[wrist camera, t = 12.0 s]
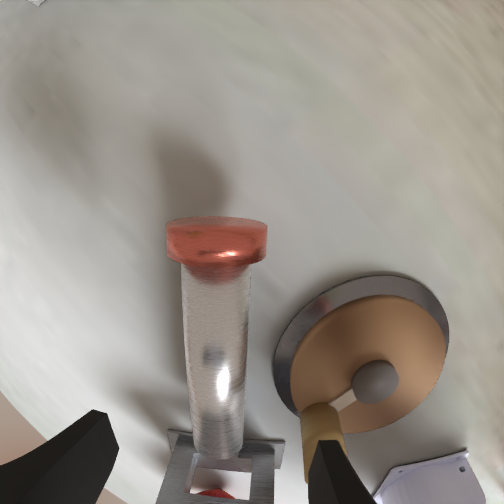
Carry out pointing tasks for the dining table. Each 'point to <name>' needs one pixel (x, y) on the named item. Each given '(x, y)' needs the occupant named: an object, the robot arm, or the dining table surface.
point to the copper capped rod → (216, 322)
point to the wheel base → (334, 300)
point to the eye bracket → (247, 460)
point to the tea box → (36, 2)
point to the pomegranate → (216, 493)
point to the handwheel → (363, 368)
